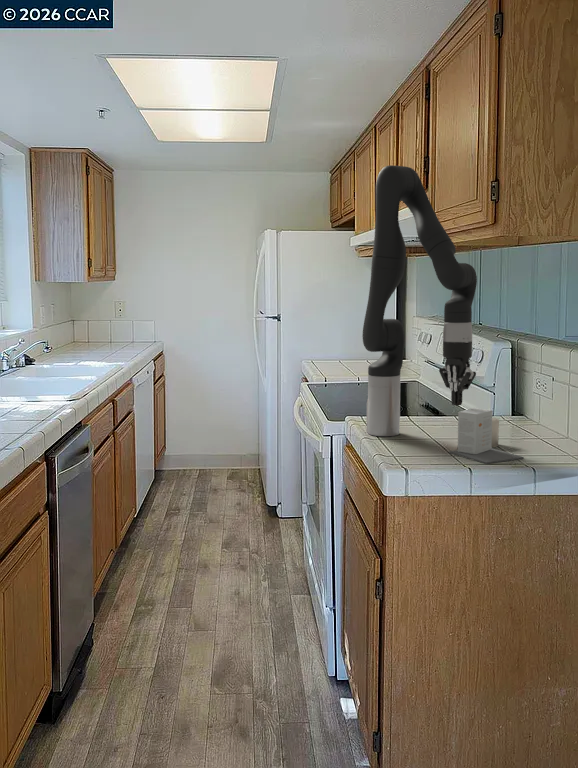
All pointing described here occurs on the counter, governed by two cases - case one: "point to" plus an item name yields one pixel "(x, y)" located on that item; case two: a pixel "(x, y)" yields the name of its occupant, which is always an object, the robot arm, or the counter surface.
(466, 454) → the mat
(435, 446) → the counter surface
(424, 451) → the counter surface
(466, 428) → the small box
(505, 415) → the counter surface
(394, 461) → the counter surface
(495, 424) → the beige rounded block
